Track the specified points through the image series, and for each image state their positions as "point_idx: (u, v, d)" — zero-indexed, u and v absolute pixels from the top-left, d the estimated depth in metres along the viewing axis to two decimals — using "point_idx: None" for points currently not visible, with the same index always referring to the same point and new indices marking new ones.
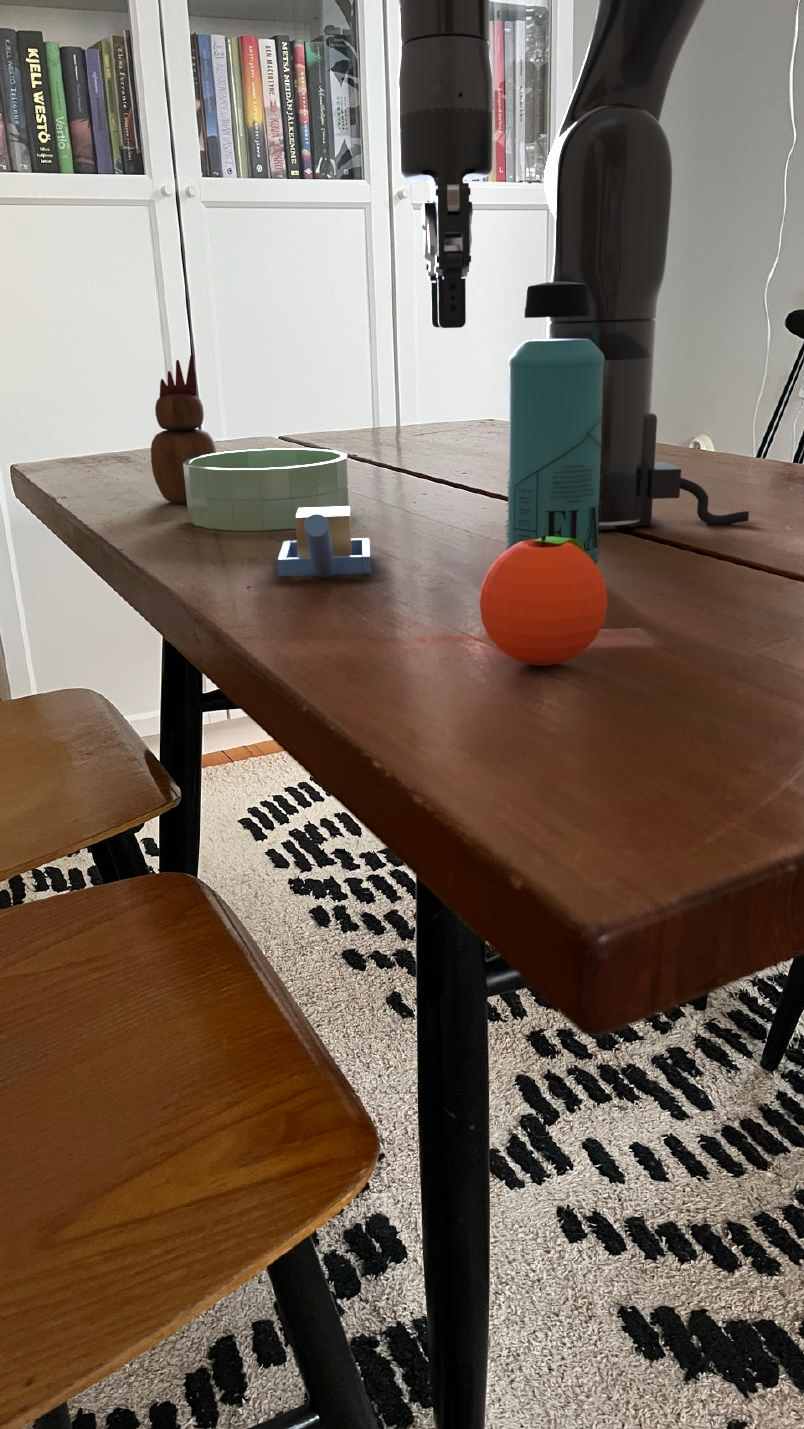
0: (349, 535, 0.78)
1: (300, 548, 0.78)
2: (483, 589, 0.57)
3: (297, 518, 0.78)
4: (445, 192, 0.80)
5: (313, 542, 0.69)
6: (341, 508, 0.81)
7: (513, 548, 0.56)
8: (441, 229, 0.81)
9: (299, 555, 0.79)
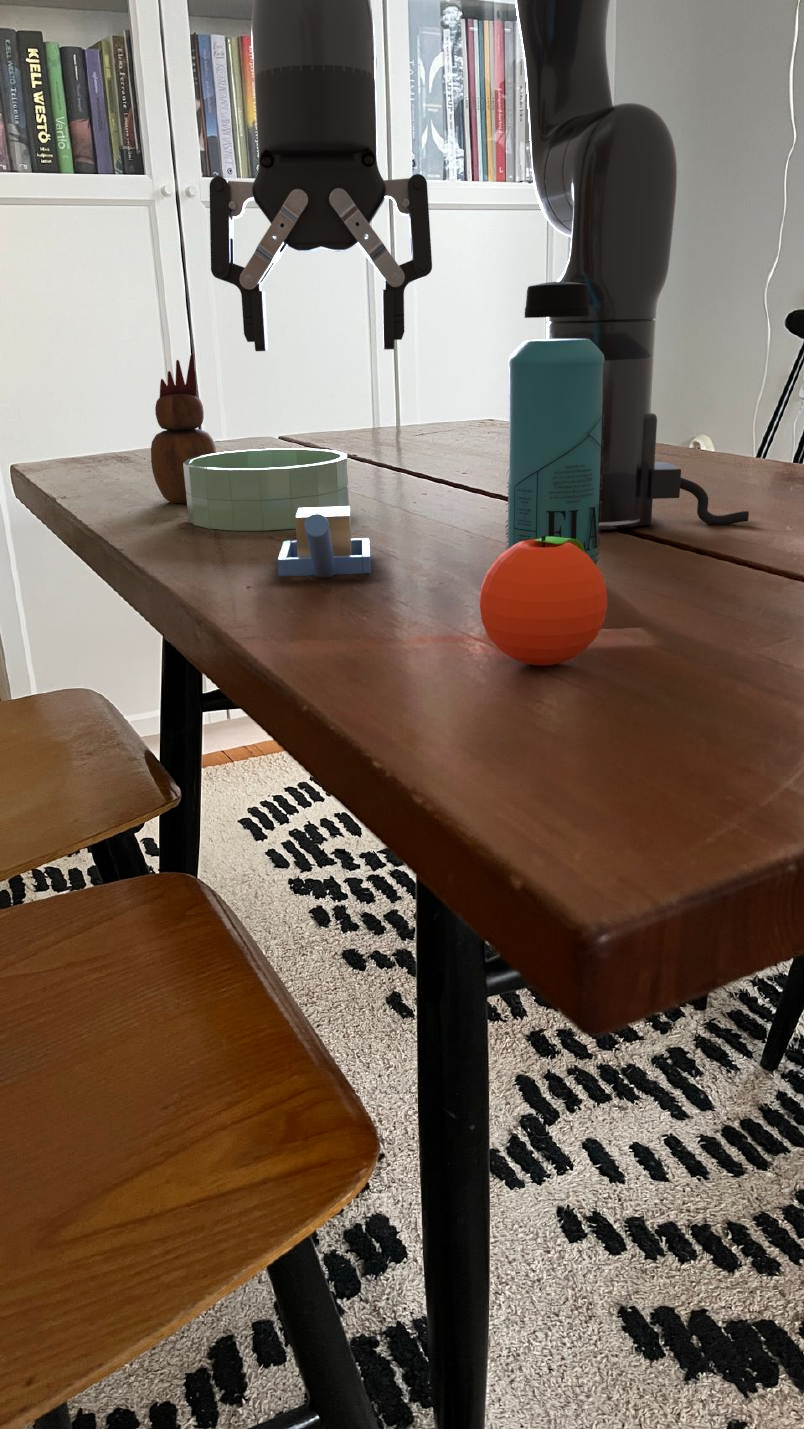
0: (349, 535, 0.78)
1: (300, 548, 0.78)
2: (483, 589, 0.57)
3: (297, 518, 0.78)
4: None
5: (313, 543, 0.69)
6: (341, 508, 0.81)
7: (513, 548, 0.56)
8: None
9: (299, 555, 0.79)
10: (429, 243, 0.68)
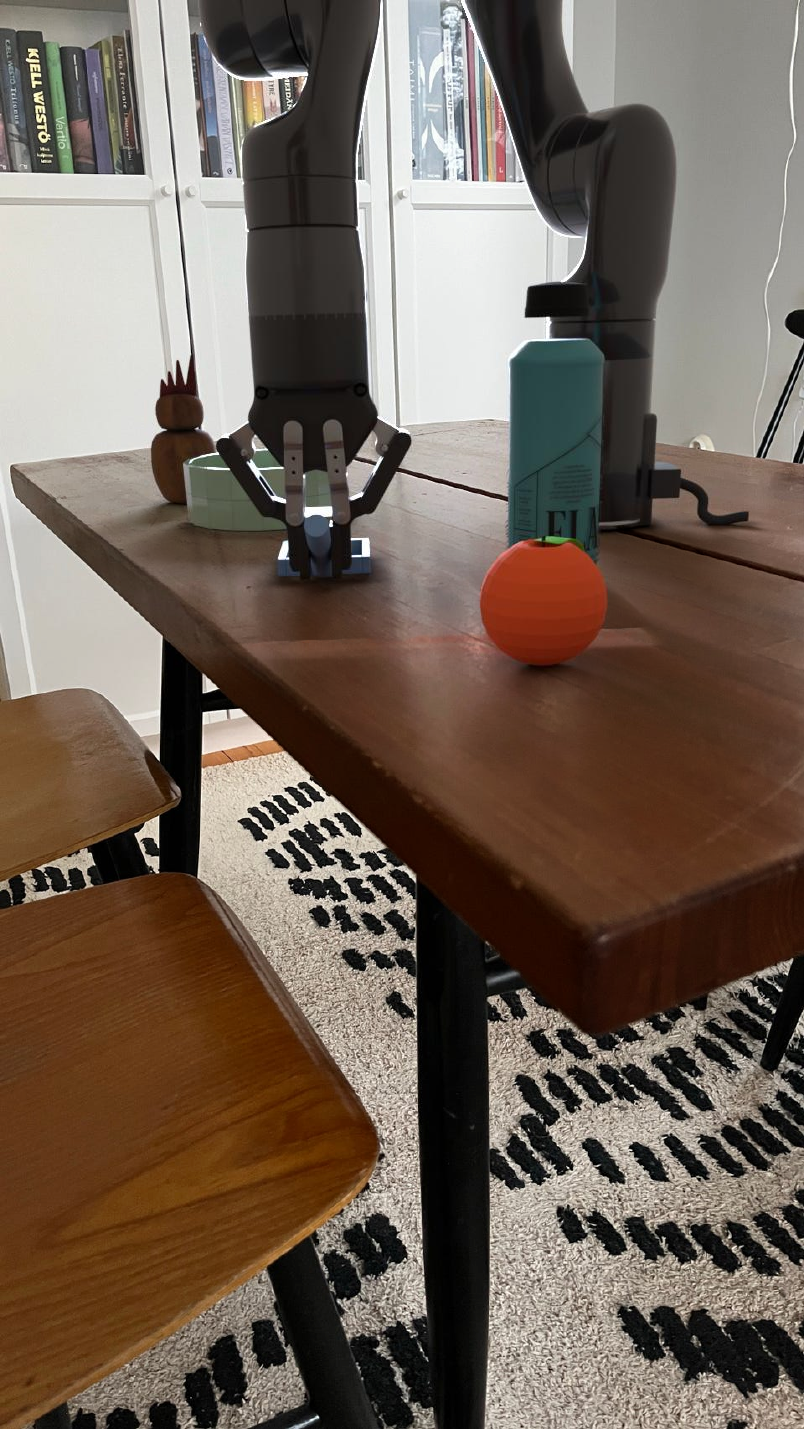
0: None
1: None
2: (483, 589, 0.57)
3: None
4: None
5: (313, 543, 0.69)
6: None
7: (513, 548, 0.56)
8: None
9: None
10: (383, 491, 0.70)
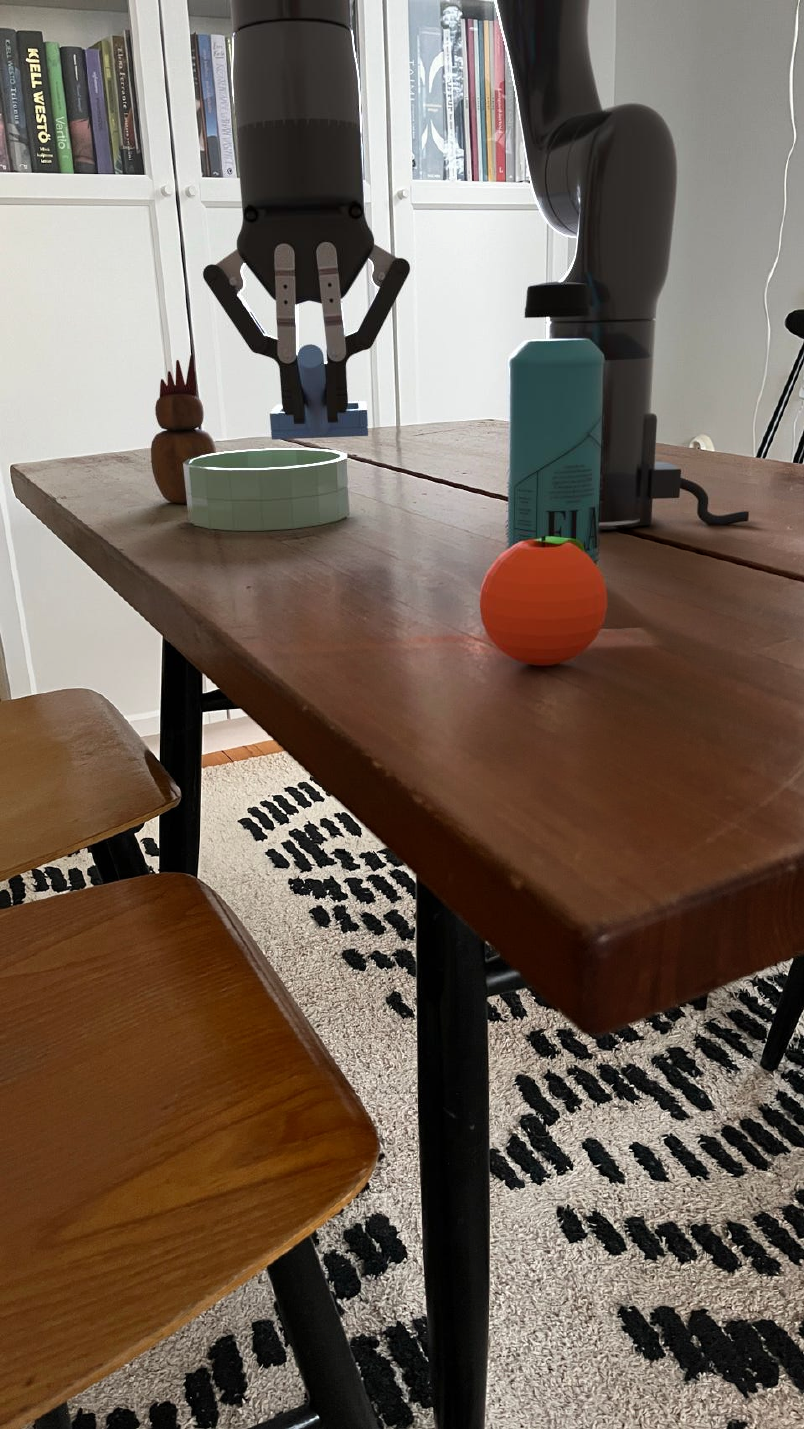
0: None
1: None
2: (483, 589, 0.57)
3: None
4: None
5: (307, 378, 0.65)
6: None
7: (513, 548, 0.56)
8: None
9: None
10: (381, 324, 0.66)
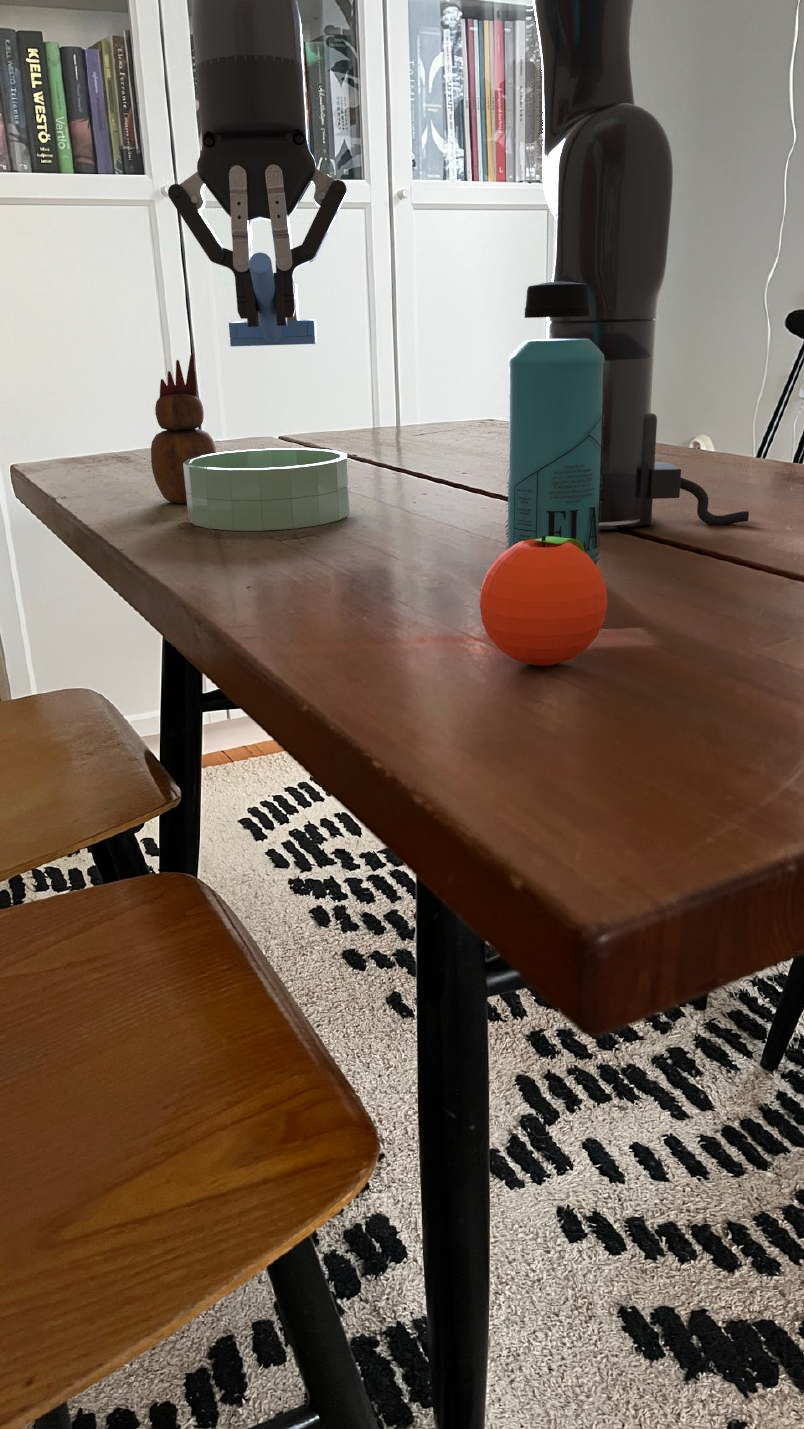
0: (295, 303, 0.85)
1: None
2: (483, 589, 0.57)
3: None
4: None
5: (258, 282, 0.76)
6: None
7: (513, 548, 0.56)
8: None
9: None
10: (322, 238, 0.77)
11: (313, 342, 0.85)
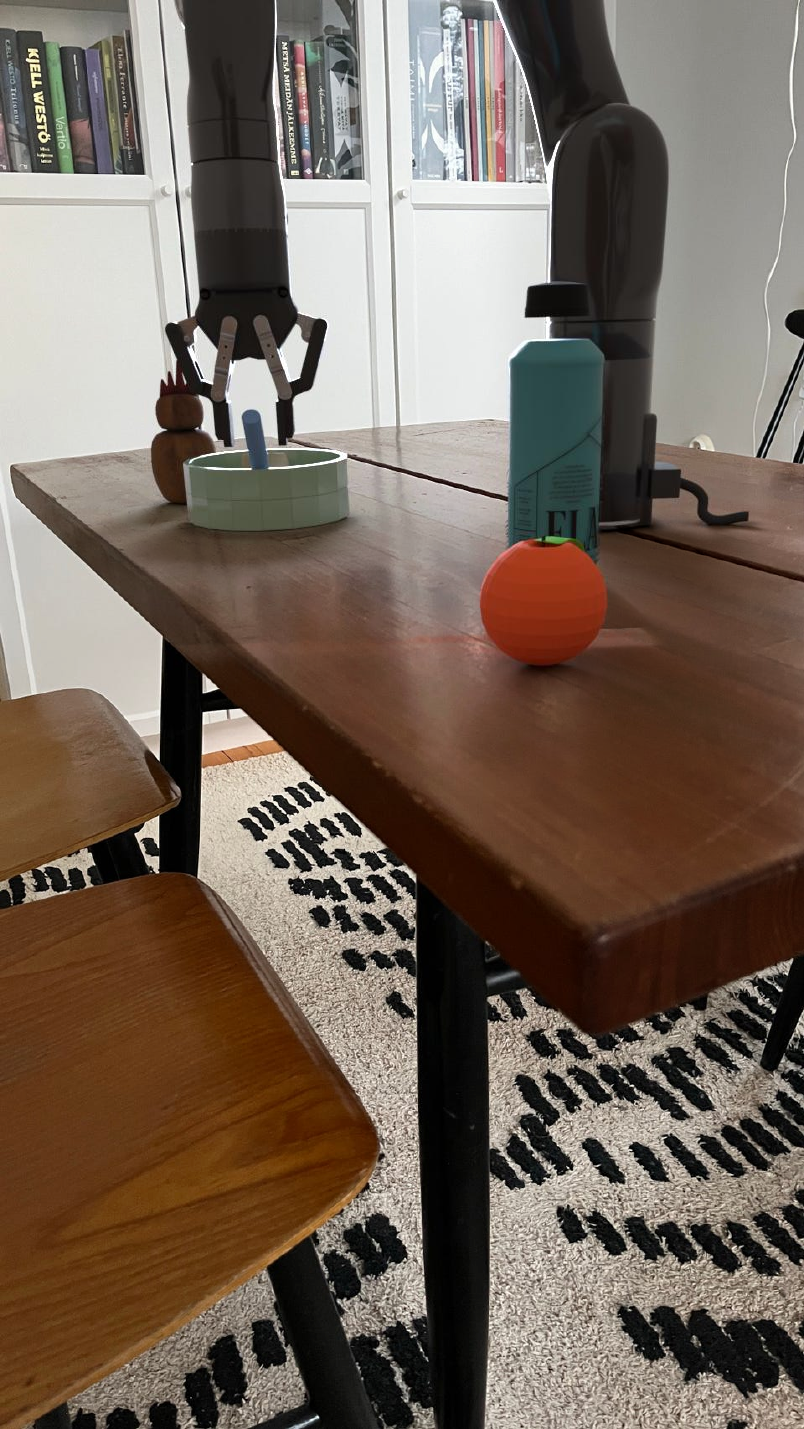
0: None
1: None
2: (483, 589, 0.57)
3: (242, 455, 0.98)
4: None
5: (249, 434, 0.89)
6: None
7: (513, 548, 0.56)
8: None
9: None
10: (315, 370, 0.88)
11: None
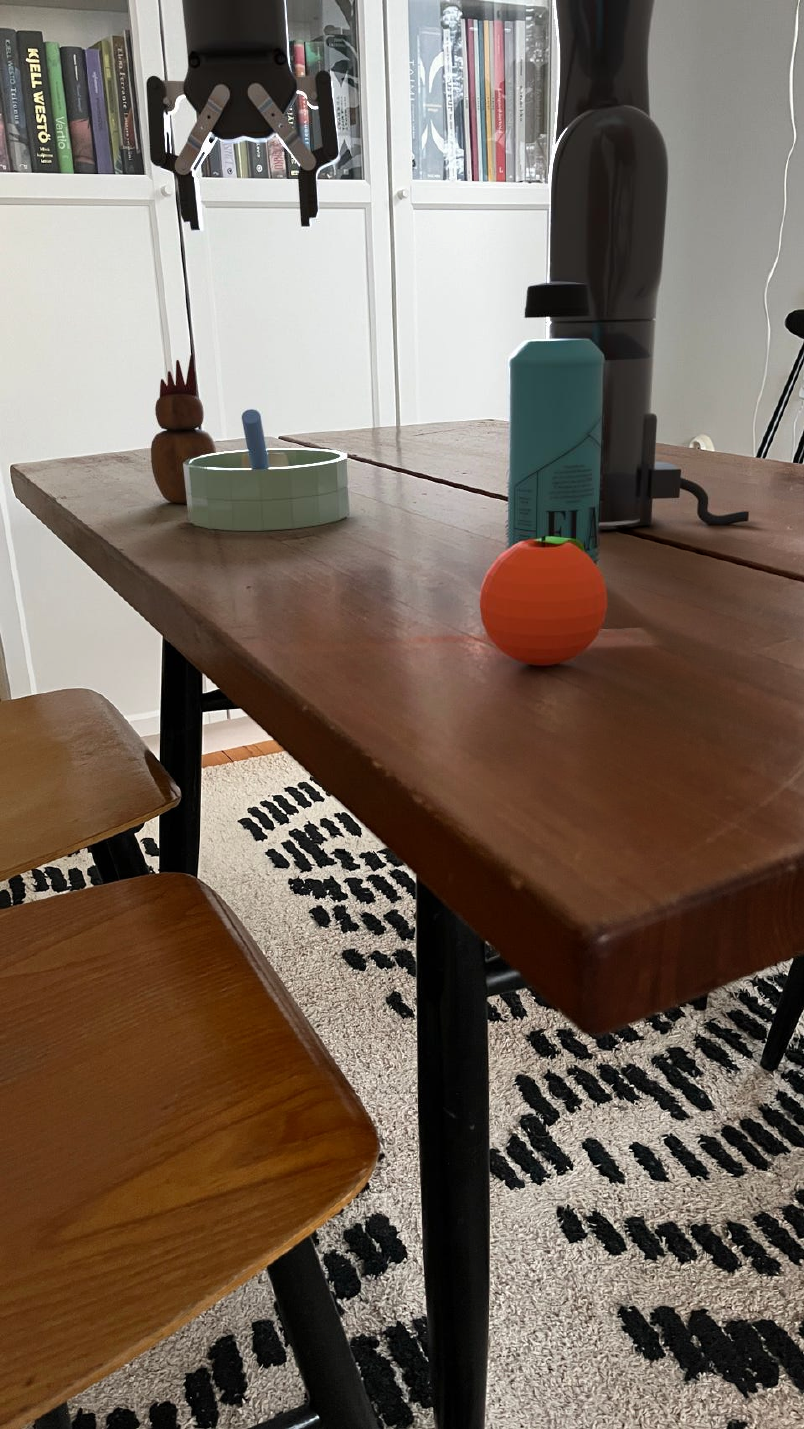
0: None
1: None
2: (483, 589, 0.57)
3: (242, 455, 0.98)
4: None
5: (249, 434, 0.89)
6: None
7: (513, 548, 0.56)
8: None
9: None
10: (335, 131, 0.79)
11: None
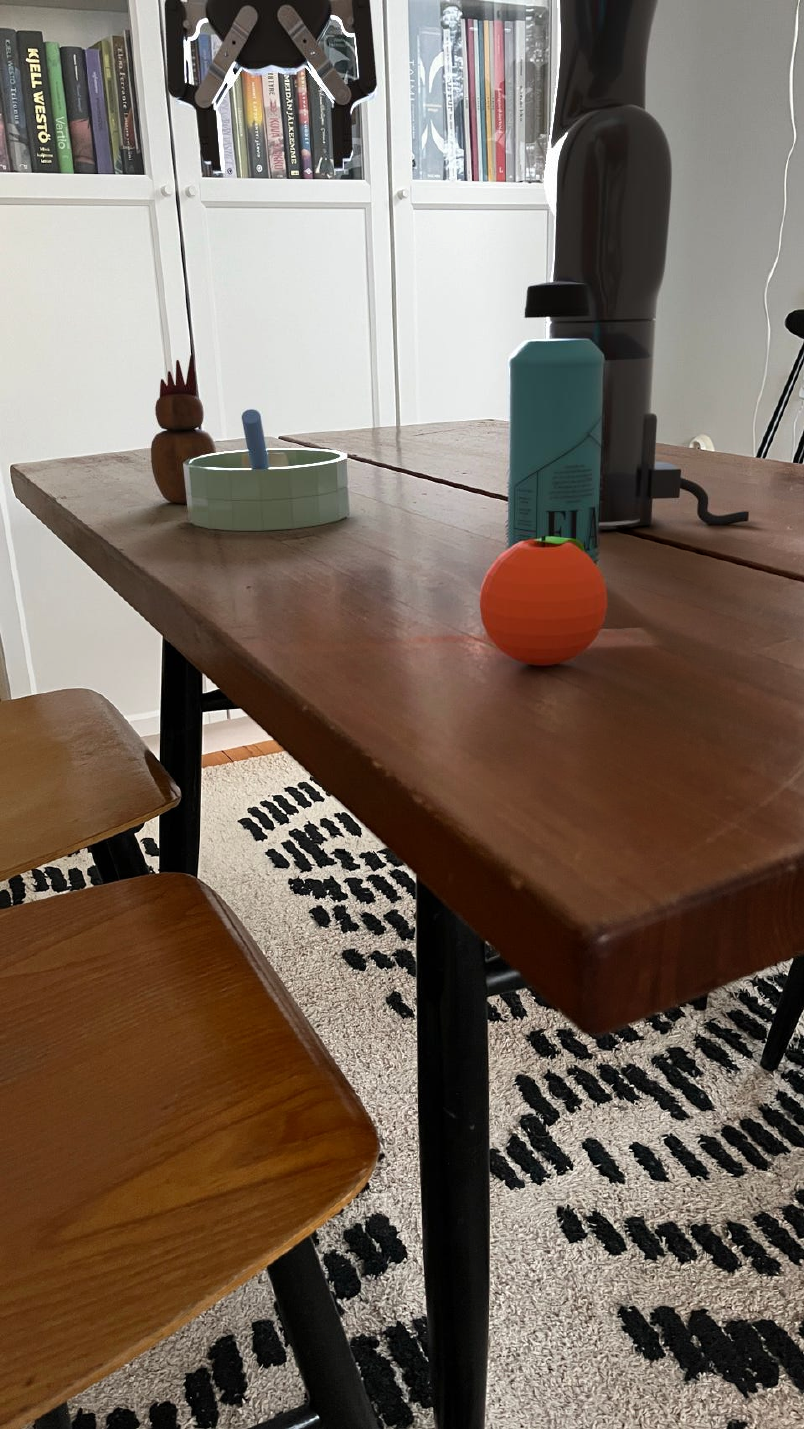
0: None
1: None
2: (483, 589, 0.57)
3: (242, 455, 0.98)
4: None
5: (249, 434, 0.89)
6: None
7: (513, 548, 0.56)
8: None
9: None
10: (373, 61, 0.72)
11: None
